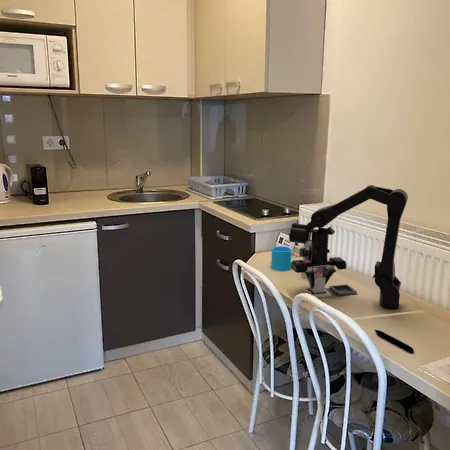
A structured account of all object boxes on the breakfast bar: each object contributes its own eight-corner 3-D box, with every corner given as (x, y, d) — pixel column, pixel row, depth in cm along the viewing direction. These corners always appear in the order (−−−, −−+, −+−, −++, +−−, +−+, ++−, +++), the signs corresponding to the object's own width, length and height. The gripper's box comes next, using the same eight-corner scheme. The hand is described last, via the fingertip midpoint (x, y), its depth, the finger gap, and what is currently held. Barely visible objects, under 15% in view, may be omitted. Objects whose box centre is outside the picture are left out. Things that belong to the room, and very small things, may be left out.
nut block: (324, 293, 163) (325, 277, 161) (314, 294, 162) (314, 278, 160) (319, 289, 166) (320, 273, 165) (309, 290, 166) (310, 274, 164)
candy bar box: (312, 282, 178) (315, 240, 174) (301, 279, 181) (302, 238, 177) (324, 274, 187) (327, 234, 183) (313, 271, 190) (315, 232, 186)
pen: (376, 333, 138) (376, 328, 138) (415, 354, 126) (416, 348, 126) (372, 334, 137) (372, 329, 137) (411, 355, 125) (412, 349, 125)
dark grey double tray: (358, 297, 164) (358, 291, 163) (310, 301, 160) (311, 296, 159) (347, 288, 171) (347, 283, 171) (301, 293, 167) (302, 287, 167)
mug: (294, 269, 192) (295, 250, 190) (276, 272, 189) (277, 252, 187) (280, 261, 203) (281, 243, 201) (263, 263, 200) (264, 245, 198)
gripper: (333, 237, 170) (331, 278, 173) (285, 240, 165) (284, 282, 169) (348, 246, 159) (345, 288, 163) (297, 249, 155) (295, 293, 159)
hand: (317, 287), depth 164 cm, fingers closed on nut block, 4 cm apart
